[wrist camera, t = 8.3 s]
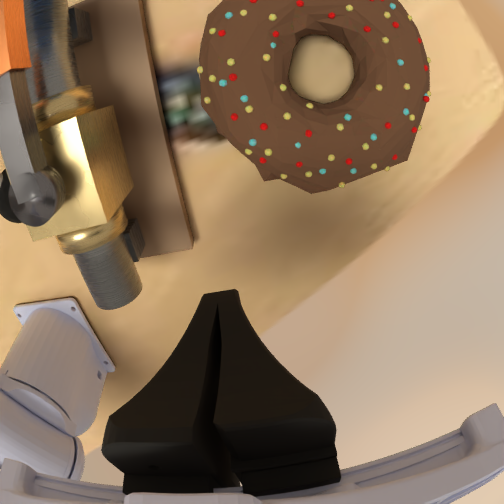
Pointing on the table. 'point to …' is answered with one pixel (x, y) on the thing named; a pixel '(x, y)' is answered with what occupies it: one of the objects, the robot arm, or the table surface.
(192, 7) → the table surface
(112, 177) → the pipe and valve body
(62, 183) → the valve lever
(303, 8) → the donut
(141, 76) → the walnut board
